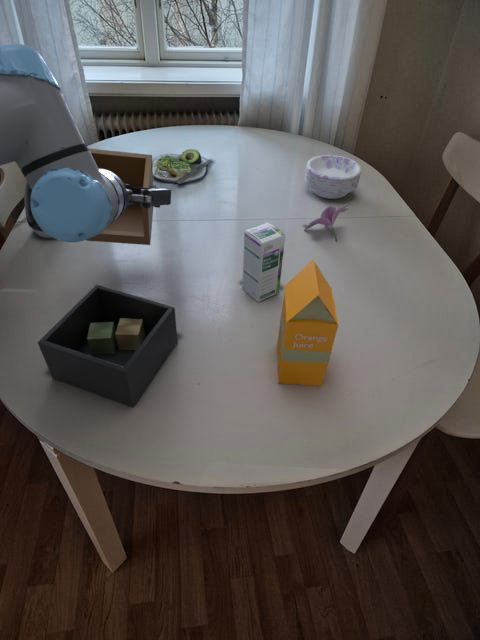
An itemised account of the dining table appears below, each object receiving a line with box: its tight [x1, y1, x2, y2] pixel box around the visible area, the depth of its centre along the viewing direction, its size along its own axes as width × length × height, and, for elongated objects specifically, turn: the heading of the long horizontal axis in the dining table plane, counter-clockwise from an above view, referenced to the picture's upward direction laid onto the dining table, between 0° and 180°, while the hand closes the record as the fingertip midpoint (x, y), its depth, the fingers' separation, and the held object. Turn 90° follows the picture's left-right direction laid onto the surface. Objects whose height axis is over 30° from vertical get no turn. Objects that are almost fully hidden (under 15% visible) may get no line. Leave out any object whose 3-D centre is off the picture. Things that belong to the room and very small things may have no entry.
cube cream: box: [115, 318, 145, 350], centre depth 76 cm, size 4×4×4 cm
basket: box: [37, 283, 179, 408], centre depth 73 cm, size 16×16×9 cm
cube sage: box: [87, 322, 117, 355], centre depth 76 cm, size 4×4×4 cm
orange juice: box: [276, 258, 339, 387], centre depth 69 cm, size 8×9×20 cm
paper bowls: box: [304, 154, 362, 200], centre depth 122 cm, size 15×15×8 cm
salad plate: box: [152, 149, 213, 185], centre depth 129 cm, size 19×18×5 cm
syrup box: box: [241, 221, 286, 303], centre depth 86 cm, size 6×6×14 cm
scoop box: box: [85, 148, 154, 246], centre depth 77 cm, size 12×11×12 cm
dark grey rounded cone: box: [23, 180, 54, 239], centre depth 99 cm, size 10×10×15 cm
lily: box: [304, 203, 351, 243], centre depth 105 cm, size 12×12×10 cm
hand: (119, 189), depth 78 cm, fingers closed on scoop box, 12 cm apart
